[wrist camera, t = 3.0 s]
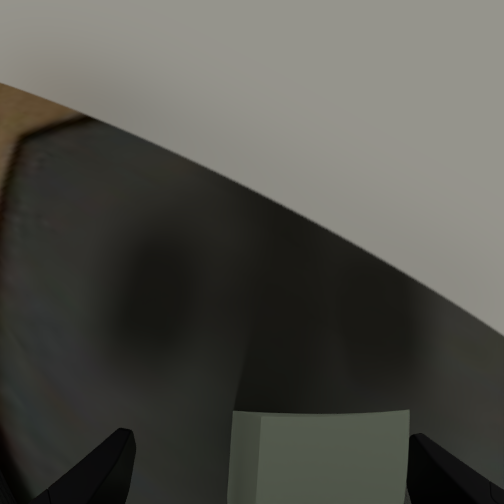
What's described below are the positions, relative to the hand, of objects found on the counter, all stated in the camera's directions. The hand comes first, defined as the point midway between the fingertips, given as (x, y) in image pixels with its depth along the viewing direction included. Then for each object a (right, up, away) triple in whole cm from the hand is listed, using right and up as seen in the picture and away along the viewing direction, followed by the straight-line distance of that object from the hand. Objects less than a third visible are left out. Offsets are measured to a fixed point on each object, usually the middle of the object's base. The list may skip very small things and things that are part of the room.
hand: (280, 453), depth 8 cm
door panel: (-1, -4, +5) cm, 7 cm away
